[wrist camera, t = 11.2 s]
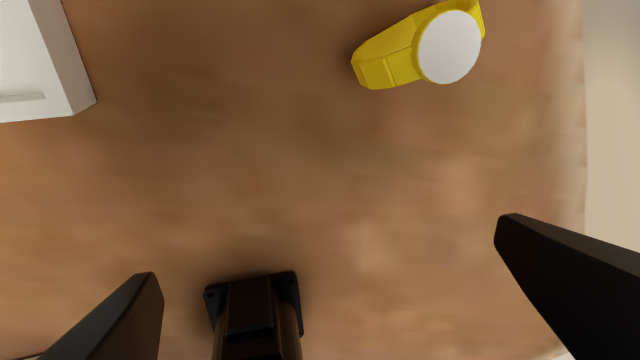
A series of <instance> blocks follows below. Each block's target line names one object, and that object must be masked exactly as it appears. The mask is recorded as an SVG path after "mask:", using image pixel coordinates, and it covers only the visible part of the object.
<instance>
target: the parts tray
mask: <svg viewBox="0 0 640 360" xmlns="http://www.w3.org/2000/svg"><path fill="white" fill-rule="evenodd" d="M95 103H97V101H96V98H95V95H94V92H93V90H92V87H91V84H90V81H89V79H88V76H87V73H86V70H85V68H84V65H83V62H82V59H81V57H80V54H79V51H78V48H77V46H76V43H75V40H74V37H73V35H72V32H71V29H70V26H69V24H68V21H67V18H66V15H65V13H64V10H63V7H62V4H61V2H60V0H0V123H3V122H13V121H23V120H33V119H43V118H53V117H63V116H73V115H75V114H77V113H79V112H81V111H83V110H84V109H86V108H88V107H90V106H92V105H93V104H95Z"/></svg>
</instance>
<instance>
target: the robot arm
mask: <svg viewBox="0 0 640 360" xmlns="http://www.w3.org/2000/svg"><path fill="white" fill-rule="evenodd" d="M494 246H495V248H496V250H497V252H498V253H499V255H500V256H501V258H502V259H503V261H504V263H505V264H506V266H507V267H508V269H509V270H510V272H511V274H512V275H513V277H514V278H515V280H516V281H517V283H518V285H519V286H520V288H521V289H522V291H523V292H524V294H525V295H526V296H527V298H528V299H529V301H530V302H531V303H532V305H533V306H534V307H535V308H536V310H537V311H538V312H539V314H540V315H541V316H542V317H543V319H544V320H545V321H546V323H547V324H548V325H549V326H550V328H551V329H552V330H553V332H554V333H555V334H556V335H557V337H558V338H559V339H560V341H561V342H562V343H563V344H564V346H565V347H566V348H567V350H568V351H569V352H570V353H571V355H572V356H573V357H574V359H575V360H640V253H638V252H635V251H632V250H629V249H626V248H623V247H619V246H616V245H613V244H610V243H607V242H604V241H601V240H598V239H595V238H592V237H589V236H586V235H583V234H579V233H576V232H573V231H570V230H567V229H564V228H561V227H558V226H555V225H552V224H549V223H545V222H542V221H539V220H536V219H533V218H530V217H527V216H524V215H521V214H518V213H510V214H504V215H501V216H500V217H499V218H498V221H497V226H496V230H495V235H494ZM290 278H292V280H288V279H290ZM210 292H212V293H213V294H210ZM203 297H204V301H205V304H206V307H207V311H208V314H209V317H210V321H211V324H212V328H213V331H214V342H213V351H212V359H211V360H303V357H302V350H301V343H300V338H301V337H302V336H303V335H304V330H303V322H302V314H301V305H300V297H299V289H298V281H297V275H296V274H295V273H294V272H286V273H280V274H274V275H269V276H263V277H257V278H251V279H245V280H239V281H233V282H228V283H222V284H216V285H210V286H207V287H206V288H205V289H204V292H203ZM163 311H164V297H163V294H162V291H161V289H160V286H159V283H158V281H157V278H156V276H155V274H154V273H153V272H144V273H138V274H134V275H133V276H131V277H130V278H129V279H128V280H127V281H126V282H124V283H123V284H122V285H121V286H120V287H119V288H118V289H116V290H115V291H114V292H113V293H112V294H111V295H109V296H108V297H107V298H106V299H105V300H104V301H103V302H101V303H100V304H99V305H98V306H97V307H96V308H94V309H93V310H92V311H91V312H90V313H89V314H88V315H86V316H85V317H84V318H83V319H82V320H81V321H80V322H78V323H77V324H76V325H75V326H74V327H73V328H71V329H70V330H69V331H68V332H67V333H66V334H65V335H63V336H62V337H61V338H60V339H59V340H58V341H56V342H55V343H54V344H53V345H52V346H51V347H50V348H48V349H47V350H46V351H45V352H44V353H43V354H42V355H40V356H39V357H38V358H37V359H36V360H157V356H158V349H159V341H160V334H161V326H162V319H163Z"/></svg>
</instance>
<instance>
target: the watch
mask: <svg viewBox="0 0 640 360" xmlns="http://www.w3.org/2000/svg"><path fill="white" fill-rule="evenodd" d="M484 35H485V29H484V24H483V19H482V15H481V11H480V6H479V2H478V0H448V1H445V2H441V3H438V4H437V5H433V6H430V7H428V8H425V9H423V10H420V11H418V12H416V13H413V14H412V15H411V14H410V15H409V16H408V17H407V18H405V19H403V20H402V21H400V22H398V23H396V24H395V25H393V26H391V27H389V28H388V29H386V30H384V31H383V32H381V33H379V34H377V35H376V36H374V37H372V38H370V39H369V40H367V41H365V42H364V43H363V44H362V45H361V46H360V47H359V48H357V49H356V50H355V52H354V53H353V56H352V59H351V64H352V67H353V69H354V71H355V73H356V76H357V78H358V80H359V82H360V84H361V85H362V86H364V87H366V88H369V89H372V90H373V89H374V90H377V89H385V88H393V87H396V86H401V85H404V84H407V83H410V82H413V81H416V80H418V79H421V78H422V79H424V80H426V81H429V82H432V83H435V84H450V83H452V82H455V81H457V80H459V79H461V78H462V77H463V76H465V75H466V74H467V73H468V72H469V71H470V69H471V68H472V67H473V65H474V64H475V62H476V60H477V57H478V55H479V52H480V46H481V40H482V39H483V37H484ZM410 45H411V46H410Z"/></svg>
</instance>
